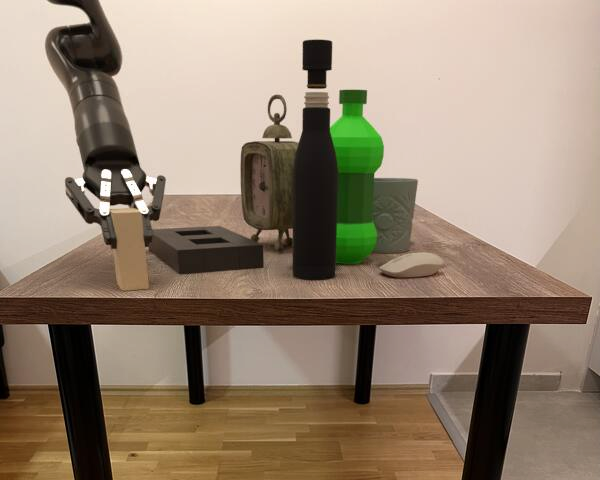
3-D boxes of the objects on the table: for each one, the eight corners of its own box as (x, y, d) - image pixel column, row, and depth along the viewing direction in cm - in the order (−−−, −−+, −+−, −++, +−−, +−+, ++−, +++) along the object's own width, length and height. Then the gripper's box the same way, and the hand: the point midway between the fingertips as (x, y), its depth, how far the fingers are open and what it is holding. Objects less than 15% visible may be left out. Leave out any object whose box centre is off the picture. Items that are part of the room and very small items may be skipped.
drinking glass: (381, 255, 110) (385, 181, 105) (346, 247, 118) (348, 178, 113) (424, 250, 115) (430, 179, 110) (388, 243, 123) (392, 176, 118)
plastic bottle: (386, 265, 102) (398, 89, 91) (323, 267, 100) (327, 87, 89) (368, 254, 111) (376, 92, 100) (309, 256, 109) (311, 91, 98)
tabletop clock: (242, 243, 122) (237, 95, 111) (284, 239, 126) (284, 97, 115) (274, 255, 110) (272, 92, 100) (319, 251, 114) (322, 93, 103)
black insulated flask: (343, 277, 94) (352, 40, 81) (306, 281, 91) (309, 36, 78) (320, 269, 99) (324, 45, 86) (284, 273, 96) (283, 42, 83)
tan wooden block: (122, 291, 86) (113, 212, 81) (117, 284, 89) (107, 209, 85) (149, 288, 87) (141, 211, 82) (142, 281, 91) (135, 207, 86)
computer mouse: (373, 272, 98) (374, 252, 96) (429, 267, 101) (431, 248, 99) (392, 279, 93) (393, 258, 91) (450, 275, 96) (452, 254, 94)
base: (179, 274, 96) (177, 250, 94) (148, 249, 115) (146, 229, 113) (263, 267, 101) (263, 244, 99) (221, 245, 120) (220, 225, 118)
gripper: (50, 119, 83) (73, 228, 78) (158, 120, 88) (186, 223, 83) (53, 161, 89) (75, 265, 85) (154, 160, 94) (180, 257, 90)
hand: (130, 243), depth 84 cm, fingers closed on tan wooden block, 3 cm apart
